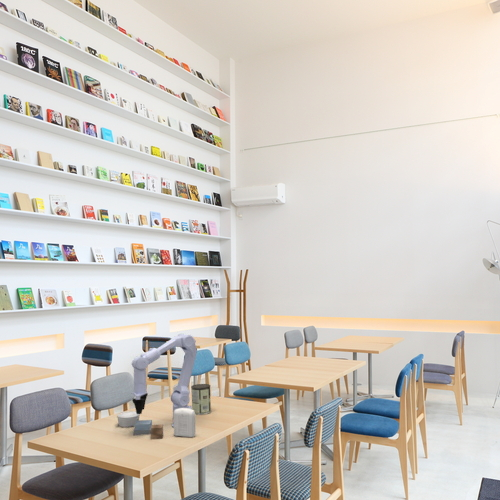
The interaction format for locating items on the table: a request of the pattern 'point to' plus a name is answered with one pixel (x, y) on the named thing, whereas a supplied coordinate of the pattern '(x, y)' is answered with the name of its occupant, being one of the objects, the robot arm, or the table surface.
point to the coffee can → (201, 399)
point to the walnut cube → (157, 431)
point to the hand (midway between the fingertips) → (140, 411)
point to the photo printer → (184, 422)
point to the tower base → (141, 432)
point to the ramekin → (127, 418)
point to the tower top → (143, 425)
